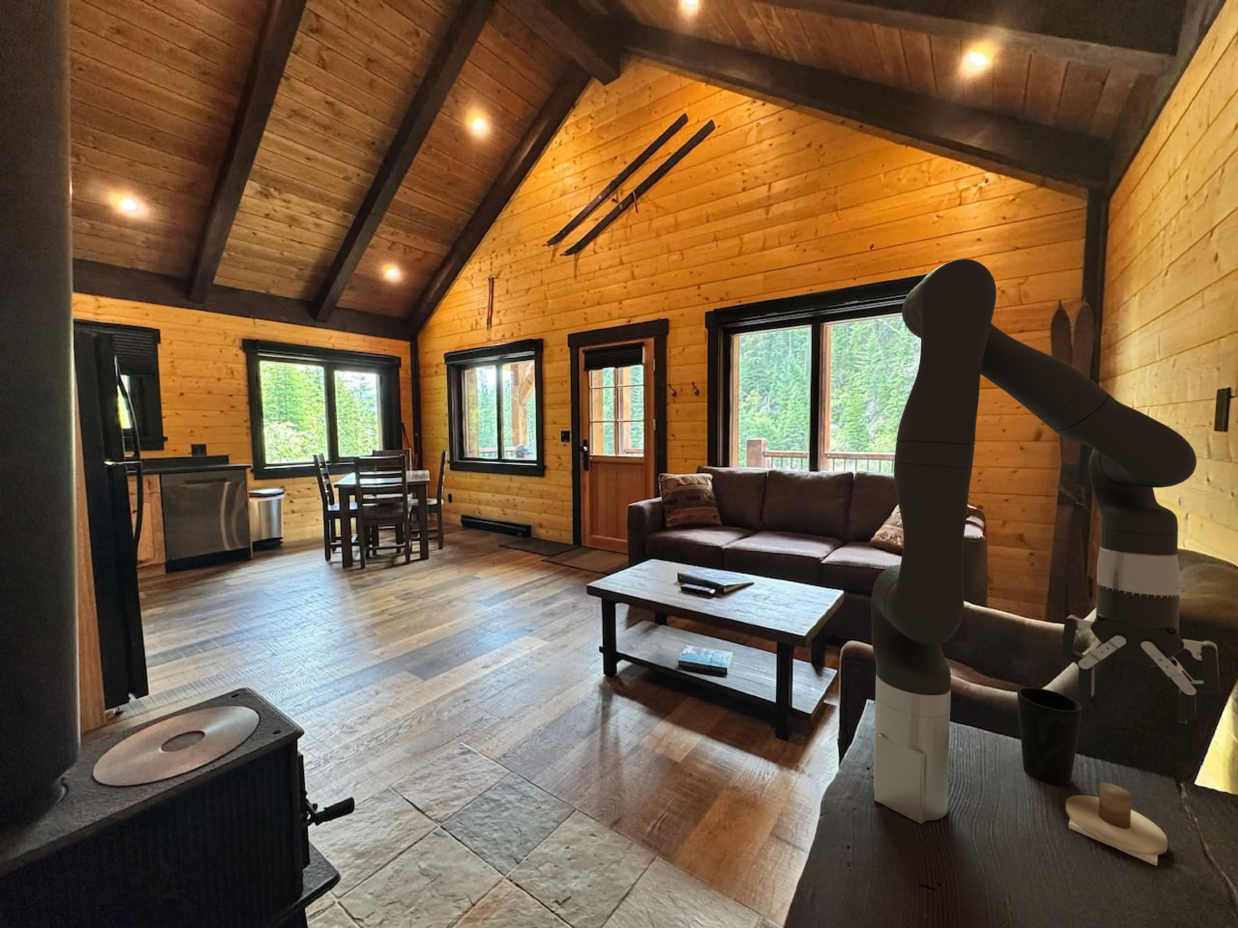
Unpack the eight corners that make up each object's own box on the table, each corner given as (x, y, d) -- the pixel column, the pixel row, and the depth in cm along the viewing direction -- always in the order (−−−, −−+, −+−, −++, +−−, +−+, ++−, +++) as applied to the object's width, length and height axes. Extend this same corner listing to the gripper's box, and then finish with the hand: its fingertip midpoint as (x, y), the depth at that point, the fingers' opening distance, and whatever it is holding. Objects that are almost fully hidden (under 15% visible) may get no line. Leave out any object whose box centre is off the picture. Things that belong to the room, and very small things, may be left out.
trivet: (1156, 865, 60) (1157, 860, 60) (1068, 827, 66) (1068, 823, 66) (1159, 832, 65) (1159, 828, 65) (1077, 800, 71) (1077, 796, 71)
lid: (1166, 868, 59) (1167, 828, 59) (1060, 822, 66) (1061, 787, 66) (1168, 828, 65) (1169, 793, 65) (1071, 791, 73) (1072, 758, 72)
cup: (1054, 761, 81) (1056, 688, 80) (1094, 793, 73) (1097, 713, 73) (1003, 757, 81) (1005, 685, 81) (1037, 789, 74) (1040, 710, 73)
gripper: (1058, 578, 68) (1056, 695, 69) (1221, 603, 57) (1218, 741, 58) (1069, 570, 73) (1067, 679, 73) (1222, 591, 62) (1219, 719, 62)
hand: (1133, 706), depth 65 cm, fingers open, 8 cm apart
